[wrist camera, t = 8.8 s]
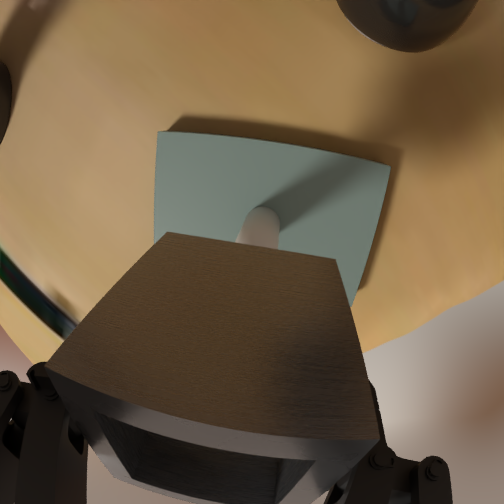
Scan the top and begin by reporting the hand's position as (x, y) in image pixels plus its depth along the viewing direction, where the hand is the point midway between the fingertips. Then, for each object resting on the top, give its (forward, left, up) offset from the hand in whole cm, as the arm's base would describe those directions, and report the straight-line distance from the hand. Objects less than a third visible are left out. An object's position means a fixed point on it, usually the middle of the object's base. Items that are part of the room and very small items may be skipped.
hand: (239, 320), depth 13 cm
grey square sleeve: (0, 0, 0) cm, 0 cm away
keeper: (0, 0, -15) cm, 15 cm away
